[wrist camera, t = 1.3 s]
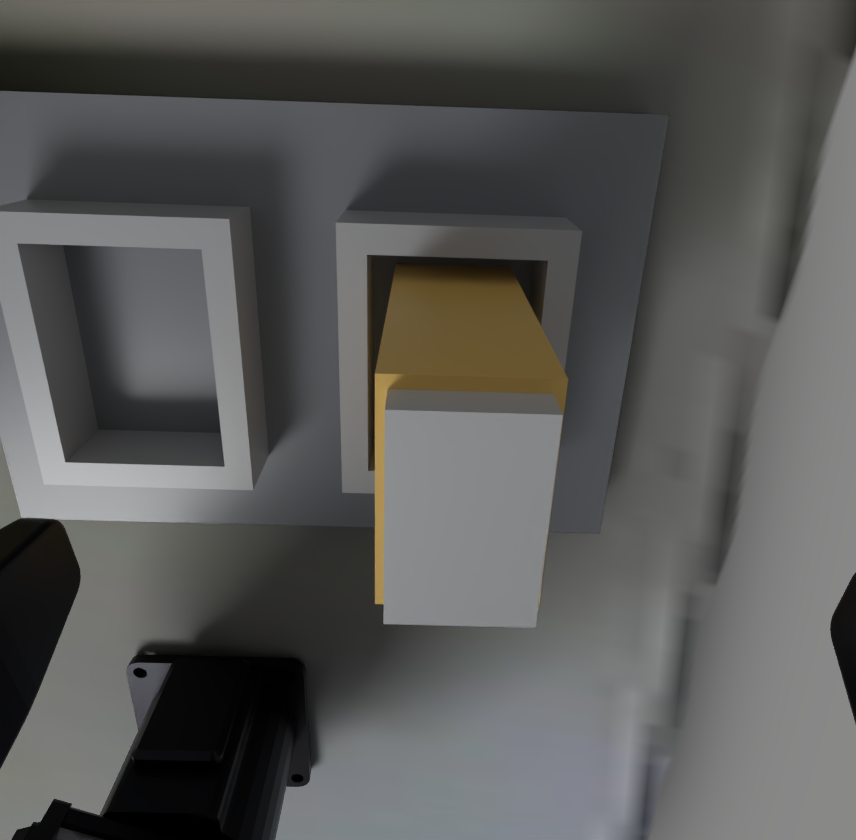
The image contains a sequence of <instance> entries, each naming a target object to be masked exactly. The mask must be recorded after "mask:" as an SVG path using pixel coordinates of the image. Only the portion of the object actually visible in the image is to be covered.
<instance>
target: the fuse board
mask: <svg viewBox="0 0 856 840" xmlns="http://www.w3.org/2000/svg"><path fill="white" fill-rule="evenodd" d="M668 121H669V115H662V114H637V113H609V112H581V111H553V110H525V109H497V108H469V107H441V106H413V105H385V104H357V103H329V102H301V101H274V100H246V99H218V98H190V97H162V96H134V95H106V94H78V93H50V92H22V91H0V437H1V441H2V444H3V448H4V452H5V456H6V460H7V464H8V467H9V471H10V475H11V479H12V483H13V487H14V490H15V494H16V498H17V502H18V506H19V510H20V514H21V517H22V518H28V517H29V518H46V519H68V520H106V521H144V522H182V523H220V524H258V525H296V526H334V527H372V528H375V370H376V365H377V360H378V354H379V349H380V344H381V339H382V334H383V328H384V323H385V318H386V313H387V308H388V302H389V297H390V292H391V287H392V282H393V277H394V271H395V266H396V263H404V264H435V265H466V266H497V267H511V269H512V271H513V273H514V275H515V277H516V278H517V280H518V282H519V284H520V286H521V288H522V290H523V292H524V294H525V296H526V298H527V300H528V302H529V304H530V306H531V308H532V310H533V312H534V313H535V315H536V317H537V319H538V321H539V323H540V325H541V327H542V329H543V331H544V333H545V335H546V337H547V339H548V341H549V343H550V345H551V347H552V349H553V350H554V352H555V354H556V356H557V358H558V360H559V362H560V364H561V366H562V368H563V370H564V372H565V374H566V376H567V378H568V385H567V393H566V401H565V409H564V416H563V424H562V432H561V440H560V448H559V455H558V463H557V471H556V479H555V486H554V494H553V502H552V510H551V518H550V525H549V532H562V533H600V529H601V523H602V517H603V511H604V505H605V499H606V493H607V487H608V481H609V475H610V469H611V463H612V457H613V451H614V445H615V439H616V433H617V427H618V421H619V415H620V409H621V403H622V397H623V391H624V385H625V379H626V373H627V367H628V361H629V355H630V349H631V343H632V337H633V331H634V325H635V319H636V313H637V307H638V301H639V295H640V289H641V283H642V277H643V271H644V265H645V259H646V253H647V247H648V241H649V235H650V229H651V223H652V217H653V211H654V205H655V199H656V193H657V187H658V181H659V175H660V169H661V163H662V157H663V151H664V145H665V139H666V133H667V127H668Z"/></svg>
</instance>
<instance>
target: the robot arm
mask: <svg viewBox="0 0 856 840" xmlns="http://www.w3.org/2000/svg"><path fill="white" fill-rule="evenodd" d="M80 577H81V575H80V568H79V565H78V562H77V559H76V557H75V554H74V551H73V549H72V546H71V543H70V541H69V538H68V535H67V533H66V530H65V528H64V526H63V525H62V524H61V523H60V522H59V521H58V520H55V519H46V518H29V517H28V518H21V519H18V520H16V521H14V522H12V523H11V524H9V525H7V526H5V527H3V528H2V529H0V768H1V767H2V765H3V763H4V761H5V759H6V757H7V755H8V753H9V751H10V749H11V747H12V745H13V743H14V741H15V740H16V738H17V736H18V734H19V732H20V730H21V728H22V726H23V724H24V722H25V720H26V718H27V715H28V713H29V711H30V709H31V707H32V705H33V702H34V700H35V698H36V695H37V693H38V691H39V688H40V686H41V683H42V681H43V678H44V675H45V673H46V670H47V668H48V665H49V663H50V660H51V658H52V655H53V653H54V650H55V648H56V645H57V643H58V640H59V638H60V635H61V633H62V630H63V627H64V625H65V622H66V620H67V617H68V615H69V612H70V610H71V607H72V605H73V602H74V600H75V597H76V595H77V592H78V589H79V585H80ZM830 631H831V638H832V642H833V646H834V649H835V653H836V656H837V660H838V663H839V667H840V670H841V674H842V677H843V681H844V684H845V688H846V691H847V695H848V699H849V702H850V706H851V709H852V713H853V716H854V720H855V723H856V573H855V574H854V575H853V577H852V579H851V581H850V582H849V585H848V586H847V589H846V590H845V592H844V594H843V596H842V598H841V600H840V602H839V604H838V606H837V608H836V610H835V612H834V614H833V616H832V620H831V628H830ZM140 668H143V669H144V670H143V669H140ZM288 671H291V672H294V673H289V672H288ZM126 673H127V678H128V683H129V687H130V692H131V697H132V702H133V707H134V712H135V716H136V721H137V726H138V733H137V735H136V737H135V739H134V741H133V744H132V746H131V748H130V750H129V752H128V755H127V757H126V759H125V761H124V763H123V765H122V768H121V770H120V772H119V774H118V776H117V778H116V781H115V783H114V785H113V787H112V789H111V791H110V794H109V796H108V798H107V800H106V802H105V805H104V807H103V809H102V811H101V813H100V815H97V814H93V813H90V812H86V811H83V810H79V809H76V808H72V807H71V805H72V804H71V803H68V802H64V801H61V800H57V799H54V800H53V802H52V803H51V805H50V807H49V808H48V810H47V812H46V814H45V815H44V817H43V819H42V820H41V822H38V823H37V822H33V824H32V825H31V826H30V827H26V828H22V829H18V830H17V831H16V833H15V834H14V836H13V838H12V840H275V838H276V833H277V828H278V824H279V819H280V814H281V809H282V804H283V799H284V794H285V790H286V786H290V787H299V786H304V785H306V784H307V783H308V782H309V780H310V774H311V756H310V739H309V721H308V704H307V687H306V670H305V666H304V664H303V663H302V662H301V661H300V660H298V659H294V658H266V657H223V656H180V655H137V656H135V657H133V658H132V660H131V662H130V663H129V665H128V667H127V671H126Z"/></svg>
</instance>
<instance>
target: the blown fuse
mask: <svg viewBox="0 0 856 840" xmlns="http://www.w3.org/2000/svg"><path fill="white" fill-rule="evenodd" d="M567 385H568V378H567V376H566V374H565V372H564V370H563V368H562V366H561V364H560V362H559V360H558V358H557V356H556V354H555V352H554V350H553V349H552V347H551V345H550V343H549V341H548V339H547V337H546V335H545V333H544V331H543V329H542V327H541V325H540V323H539V321H538V319H537V317H536V315H535V313H534V312H533V310H532V308H531V306H530V304H529V302H528V300H527V298H526V296H525V294H524V292H523V290H522V288H521V286H520V284H519V282H518V280H517V278H516V277H515V275H514V273H513V271H512V269H511V267H497V266H466V265H435V264H404V263H396V266H395V271H394V277H393V282H392V287H391V292H390V297H389V302H388V308H387V313H386V318H385V323H384V328H383V334H382V339H381V344H380V349H379V354H378V360H377V365H376V370H375V604H384V618H383V624H400V625H442V626H483V627H525V628H536V621H537V614H538V608H539V603H540V595H541V588H542V580H543V572H544V564H545V557H546V549H547V541H548V533H549V525H550V518H551V510H552V502H553V494H554V486H555V479H556V471H557V463H558V455H559V448H560V440H561V432H562V424H563V416H564V409H565V401H566V393H567Z"/></svg>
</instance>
